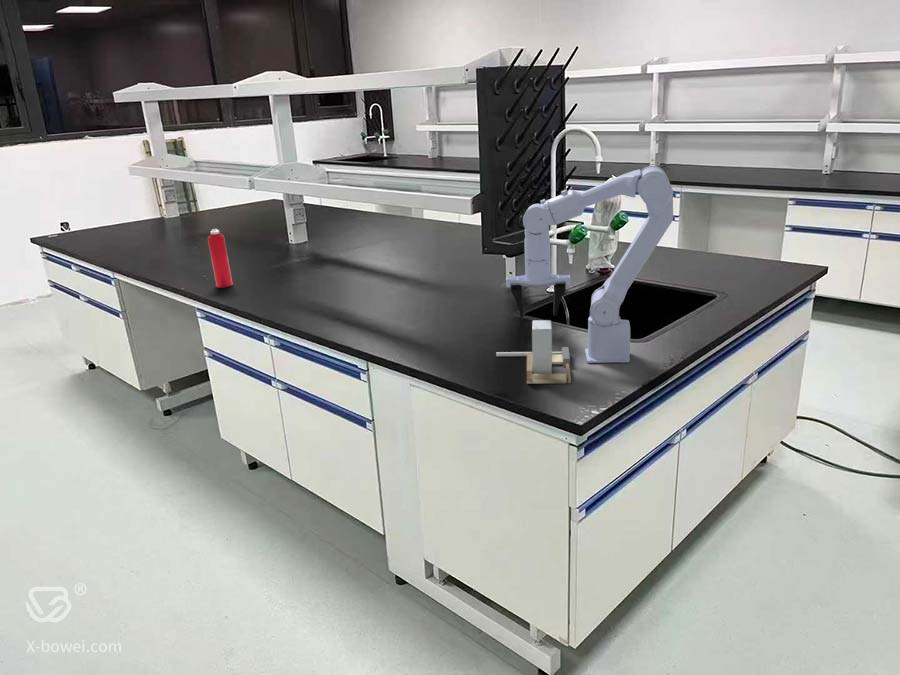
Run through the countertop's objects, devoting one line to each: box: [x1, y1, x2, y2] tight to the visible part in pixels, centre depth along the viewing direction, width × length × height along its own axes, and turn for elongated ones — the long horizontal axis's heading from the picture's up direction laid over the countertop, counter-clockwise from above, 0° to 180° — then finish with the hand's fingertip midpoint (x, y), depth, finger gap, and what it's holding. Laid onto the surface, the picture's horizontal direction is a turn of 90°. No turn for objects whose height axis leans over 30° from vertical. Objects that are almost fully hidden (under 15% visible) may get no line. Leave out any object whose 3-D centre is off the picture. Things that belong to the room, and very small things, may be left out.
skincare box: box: [531, 319, 553, 374], centre depth 147 cm, size 6×4×12 cm
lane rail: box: [495, 346, 571, 368], centre depth 157 cm, size 17×7×2 cm, turn 83°
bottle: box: [207, 228, 234, 289], centre depth 232 cm, size 6×5×20 cm
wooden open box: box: [526, 353, 572, 385], centre depth 151 cm, size 9×15×6 cm, turn 173°
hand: (538, 315), depth 157 cm, fingers open, 7 cm apart
